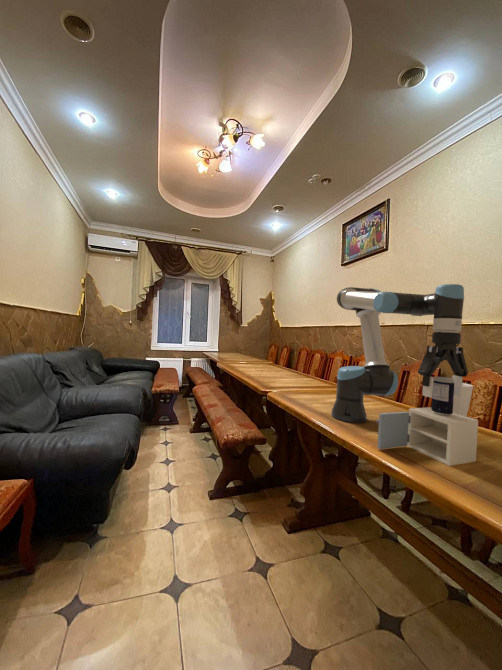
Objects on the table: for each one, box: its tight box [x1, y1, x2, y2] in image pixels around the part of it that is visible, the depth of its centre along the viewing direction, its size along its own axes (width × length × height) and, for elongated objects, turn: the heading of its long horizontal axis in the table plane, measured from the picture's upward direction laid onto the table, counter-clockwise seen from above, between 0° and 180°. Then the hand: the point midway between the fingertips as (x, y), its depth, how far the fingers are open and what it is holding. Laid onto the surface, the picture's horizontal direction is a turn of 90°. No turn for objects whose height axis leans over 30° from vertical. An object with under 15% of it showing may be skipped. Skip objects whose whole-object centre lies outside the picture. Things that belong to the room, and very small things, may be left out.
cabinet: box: [406, 406, 479, 467], centre depth 85 cm, size 14×12×13 cm
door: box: [375, 411, 411, 450], centre depth 87 cm, size 2×13×12 cm, turn 109°
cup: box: [453, 382, 474, 417], centre depth 97 cm, size 12×12×22 cm
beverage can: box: [431, 376, 454, 416], centre depth 85 cm, size 6×6×12 cm
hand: (441, 395), depth 85 cm, fingers open, 13 cm apart
